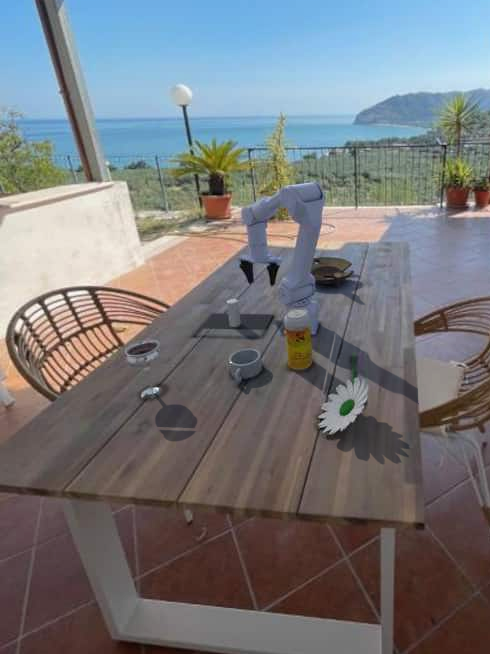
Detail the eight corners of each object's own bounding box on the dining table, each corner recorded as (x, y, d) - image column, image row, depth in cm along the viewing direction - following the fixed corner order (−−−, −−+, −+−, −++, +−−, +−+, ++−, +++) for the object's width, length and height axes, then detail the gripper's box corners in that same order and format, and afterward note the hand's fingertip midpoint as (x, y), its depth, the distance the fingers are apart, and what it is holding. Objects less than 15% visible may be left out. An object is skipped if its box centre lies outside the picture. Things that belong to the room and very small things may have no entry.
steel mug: (237, 362, 101) (235, 348, 99) (265, 362, 100) (263, 348, 99) (222, 387, 91) (219, 372, 89) (253, 388, 91) (251, 373, 89)
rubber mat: (273, 315, 125) (273, 314, 125) (261, 338, 112) (260, 336, 112) (212, 314, 126) (212, 313, 126) (193, 336, 113) (193, 335, 113)
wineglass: (147, 406, 85) (135, 359, 81) (130, 395, 89) (118, 350, 84) (175, 389, 91) (165, 344, 86) (158, 379, 94) (148, 336, 90)
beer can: (292, 375, 95) (288, 320, 90) (285, 362, 100) (280, 310, 95) (315, 368, 98) (312, 315, 93) (307, 356, 103) (304, 305, 98)
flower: (367, 336, 101) (366, 402, 72) (378, 352, 102) (381, 424, 73) (325, 361, 103) (307, 435, 74) (337, 376, 104) (324, 456, 75)
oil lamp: (352, 267, 167) (352, 250, 164) (356, 295, 139) (356, 275, 136) (300, 268, 166) (298, 251, 163) (293, 297, 138) (292, 277, 135)
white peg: (242, 322, 120) (239, 298, 117) (238, 327, 117) (235, 303, 114) (232, 322, 120) (228, 298, 118) (228, 327, 117) (224, 303, 115)
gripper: (229, 245, 119) (235, 286, 124) (273, 248, 116) (277, 290, 120) (241, 239, 125) (246, 278, 130) (283, 242, 122) (286, 282, 127)
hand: (262, 283), depth 126 cm, fingers open, 7 cm apart
